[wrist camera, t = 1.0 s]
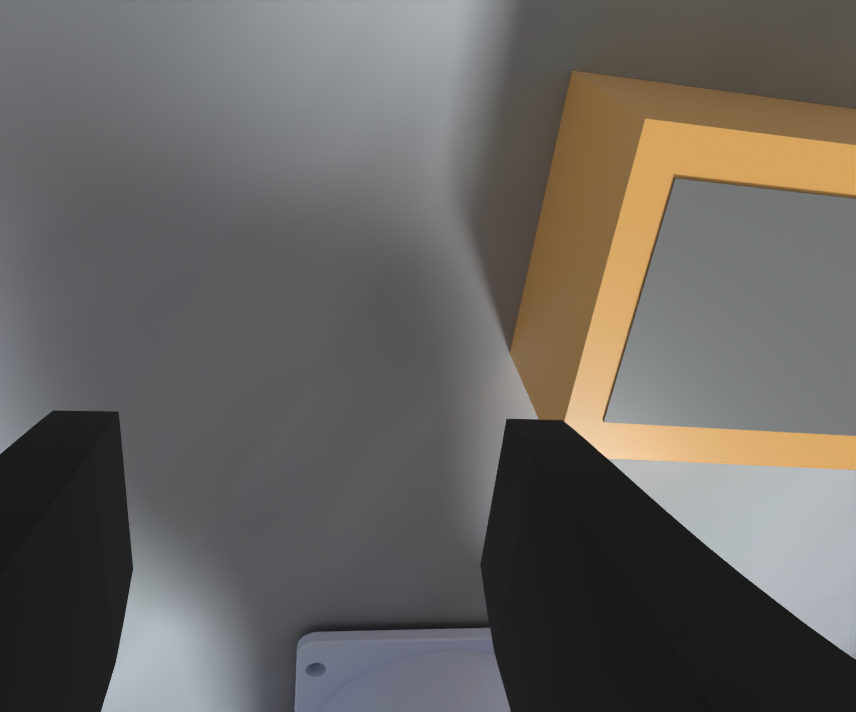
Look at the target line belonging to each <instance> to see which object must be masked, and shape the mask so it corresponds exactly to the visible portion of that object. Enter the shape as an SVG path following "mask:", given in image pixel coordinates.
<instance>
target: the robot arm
mask: <svg viewBox="0 0 856 712" xmlns="http://www.w3.org/2000/svg"><path fill="white" fill-rule="evenodd" d="M132 571H133V564H132V553H131V542H130V531H129V520H128V509H127V498H126V488H125V477H124V466H123V455H122V444H121V433H120V422H119V412H102V411H52V412H51V413H49V414H48V415H47V416H46V417H44V418H43V419H42V420H41V421H39V422H38V423H37V424H36V425H35V426H33V427H32V428H31V429H30V430H29V431H27V432H26V433H25V434H24V435H23V436H21V437H20V438H19V439H18V440H17V441H15V442H14V443H13V444H12V445H11V446H9V447H8V448H7V449H6V450H5V451H4V452H2V453H1V454H0V712H101V709H102V706H103V702H104V699H105V696H106V693H107V689H108V686H109V683H110V680H111V676H112V673H113V670H114V666H115V663H116V658H117V653H118V648H119V643H120V637H121V632H122V627H123V622H124V616H125V611H126V605H127V599H128V594H129V588H130V582H131V577H132ZM481 572H482V579H483V585H484V592H485V599H486V606H487V612H488V618H489V624H490V628H460V629H417V630H374V631H330V632H313V633H309V634H307V635H305V636H303V637H302V638H301V639H300V640H299V641H298V645H297V658H296V684H295V710H294V712H856V660H855V659H854V658H852V657H851V656H849V655H848V654H846V653H845V652H844V651H842V650H841V649H839V648H838V647H837V646H835V645H834V644H832V643H831V642H830V641H828V640H827V639H825V638H824V637H823V636H821V635H820V634H819V633H817V632H816V631H814V630H813V629H812V628H810V627H809V626H808V625H806V624H805V623H804V622H802V621H801V620H800V619H798V618H797V617H796V616H794V615H793V614H792V613H791V612H789V611H788V610H787V609H785V608H784V607H783V606H781V605H780V604H779V603H778V602H776V601H775V600H774V599H772V598H771V597H770V596H769V595H767V594H766V593H765V592H763V591H762V590H761V589H760V588H758V587H757V586H756V585H754V584H753V583H752V582H750V581H749V580H748V579H747V578H745V577H744V576H743V575H741V574H740V573H739V572H738V571H737V570H735V569H734V568H733V567H732V566H730V565H729V564H728V563H727V562H726V561H724V560H723V559H722V558H721V557H719V556H718V555H717V554H716V553H715V552H713V551H712V550H711V549H710V548H709V547H707V546H706V545H705V544H704V543H703V542H701V541H700V540H699V539H698V538H697V537H696V536H694V535H693V534H692V533H691V532H690V531H688V530H687V529H686V528H685V527H684V526H683V525H682V524H680V523H679V522H678V521H677V520H676V519H675V518H673V517H672V516H671V515H670V514H669V513H668V512H667V511H665V510H664V509H663V508H662V507H661V506H660V505H659V504H657V503H656V502H655V501H654V500H653V499H652V498H651V497H649V496H648V495H647V494H646V493H645V492H644V491H643V490H642V489H641V488H639V487H638V486H637V485H636V484H635V483H634V482H633V481H632V480H630V479H629V478H628V477H627V476H626V475H625V474H624V473H623V472H622V471H620V470H619V469H618V468H617V467H616V466H615V465H614V464H613V463H612V462H610V461H609V460H608V459H607V458H606V457H605V456H604V455H603V454H602V453H600V452H599V451H598V450H597V449H596V448H595V447H594V446H593V445H591V444H590V443H589V442H588V441H587V440H586V439H585V438H583V437H582V436H581V435H580V434H579V433H578V432H576V431H575V430H574V429H573V428H572V427H570V426H569V425H568V424H567V423H565V422H564V421H563V420H532V419H507V420H506V426H505V431H504V437H503V442H502V448H501V454H500V459H499V465H498V470H497V476H496V481H495V487H494V493H493V498H492V504H491V509H490V515H489V520H488V526H487V532H486V537H485V543H484V548H483V554H482V559H481ZM313 663H321V664H316V665H315V664H313Z"/></svg>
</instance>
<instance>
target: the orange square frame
mask: <svg viewBox="0 0 856 712" xmlns="http://www.w3.org/2000/svg"><path fill="white" fill-rule="evenodd" d="M510 355H511V357H512V359H513V362H514V364H515V366H516V368H517V371H518V373H519V375H520V378H521V380H522V382H523V384H524V387H525V389H526V391H527V393H528V396H529V398H530V400H531V402H532V405H533V407H534V409H535V412H536V414H537V416H538V418H539V420H563V421H564V422H565V423H567V424H568V425H569V426H570V427H572V428H573V429H574V430H575V431H576V432H578V433H579V434H580V435H581V436H582V437H583V438H585V439H586V440H587V441H588V442H589V443H590V444H591V445H593V446H594V447H595V448H596V449H597V450H598V451H599V452H600V453H602V454H603V455H604V456H605V457H606V458H609V459H630V460H652V461H674V462H696V463H718V464H740V465H761V466H783V467H805V468H827V469H849V470H856V109H852V108H845V107H838V106H830V105H823V104H816V103H808V102H801V101H794V100H786V99H779V98H772V97H764V96H757V95H750V94H742V93H735V92H728V91H720V90H713V89H705V88H698V87H691V86H683V85H676V84H669V83H661V82H654V81H647V80H639V79H632V78H625V77H617V76H610V75H603V74H595V73H588V72H581V71H573V70H572V73H571V78H570V82H569V87H568V91H567V96H566V100H565V105H564V109H563V114H562V118H561V123H560V128H559V132H558V137H557V141H556V146H555V150H554V155H553V159H552V164H551V168H550V173H549V177H548V182H547V186H546V191H545V196H544V200H543V205H542V209H541V214H540V218H539V223H538V227H537V232H536V236H535V241H534V245H533V250H532V254H531V259H530V264H529V268H528V273H527V277H526V282H525V286H524V291H523V295H522V300H521V304H520V309H519V313H518V318H517V323H516V327H515V332H514V336H513V341H512V345H511V350H510Z"/></svg>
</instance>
